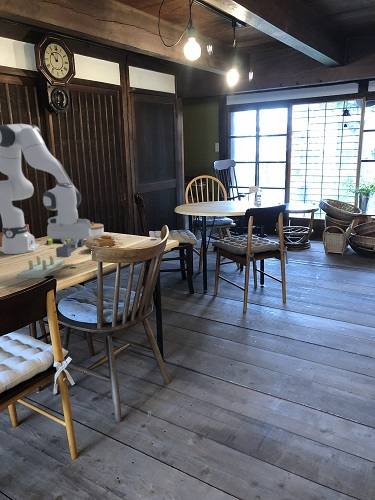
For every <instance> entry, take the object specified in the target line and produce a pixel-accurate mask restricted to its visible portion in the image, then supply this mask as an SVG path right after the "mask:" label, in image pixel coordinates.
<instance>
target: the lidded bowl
mask: <svg viewBox="0 0 375 500" xmlns="http://www.w3.org/2000/svg"><path fill="white" fill-rule="evenodd" d="M90 228H91V234H92V236H91V237H94V236H96V235H104V233H105V232H104V229H105V228H104V224H102V223H95V222H91V227H90ZM91 237H90V238H91Z"/></svg>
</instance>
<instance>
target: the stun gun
mask: <svg viewBox="0 0 375 500" xmlns="http://www.w3.org/2000/svg"><path fill="white" fill-rule="evenodd" d="M70 241H71V239H66V240H65V242H66V243H68V242H70ZM46 244H47V245H49V246H51V245H54V244H63V243H62V241H61V239H50V238H49V237H48V238H47V240H46ZM63 245H64V244H63Z"/></svg>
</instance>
